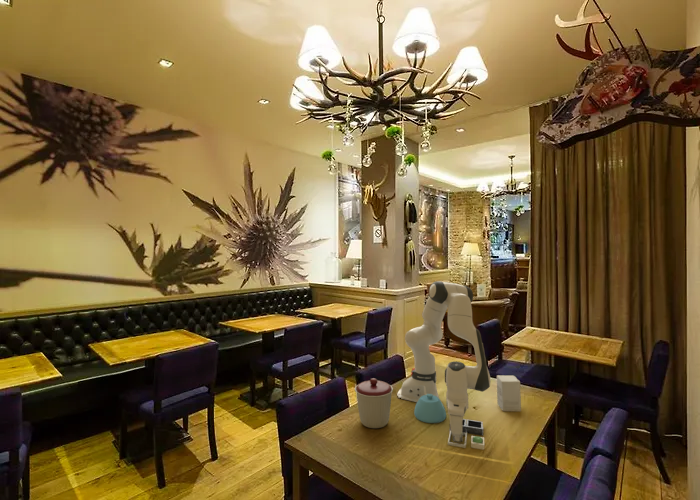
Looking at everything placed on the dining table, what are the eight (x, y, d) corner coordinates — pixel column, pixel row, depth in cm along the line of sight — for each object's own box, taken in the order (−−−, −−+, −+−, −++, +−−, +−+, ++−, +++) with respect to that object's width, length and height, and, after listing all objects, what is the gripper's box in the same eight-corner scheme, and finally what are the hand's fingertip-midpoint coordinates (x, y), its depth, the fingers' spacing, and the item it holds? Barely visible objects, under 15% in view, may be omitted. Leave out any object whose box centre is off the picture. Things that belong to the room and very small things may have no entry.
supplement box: (514, 403, 184) (514, 375, 184) (521, 411, 175) (520, 381, 175) (496, 403, 185) (496, 374, 185) (502, 411, 176) (501, 381, 176)
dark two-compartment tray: (449, 432, 157) (449, 424, 157) (451, 424, 164) (450, 416, 164) (483, 438, 152) (483, 429, 151) (483, 429, 159) (483, 421, 159)
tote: (447, 447, 145) (447, 442, 145) (450, 435, 154) (450, 430, 154) (465, 450, 143) (465, 445, 143) (467, 438, 152) (466, 433, 152)
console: (471, 450, 143) (470, 442, 143) (471, 442, 148) (471, 435, 148) (484, 452, 141) (484, 445, 141) (484, 444, 147) (484, 437, 147)
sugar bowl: (447, 427, 162) (446, 402, 161) (414, 424, 165) (413, 400, 164) (445, 412, 176) (444, 389, 176) (414, 410, 179) (414, 387, 179)
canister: (400, 419, 169) (399, 376, 169) (382, 437, 154) (381, 389, 154) (367, 411, 179) (366, 369, 179) (347, 426, 164) (346, 381, 164)
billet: (452, 443, 147) (451, 424, 147) (453, 438, 151) (452, 419, 151) (462, 445, 146) (461, 425, 146) (462, 440, 150) (462, 421, 150)
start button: (473, 446, 144) (473, 439, 144) (473, 441, 147) (473, 435, 147) (482, 447, 143) (482, 441, 143) (482, 443, 146) (482, 437, 146)
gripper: (451, 391, 159) (452, 422, 159) (447, 411, 140) (448, 446, 140) (466, 393, 157) (467, 424, 157) (463, 414, 138) (464, 449, 138)
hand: (458, 435), depth 149 cm, fingers open, 7 cm apart
